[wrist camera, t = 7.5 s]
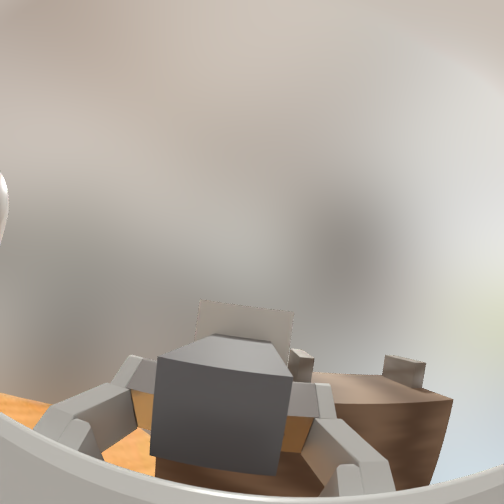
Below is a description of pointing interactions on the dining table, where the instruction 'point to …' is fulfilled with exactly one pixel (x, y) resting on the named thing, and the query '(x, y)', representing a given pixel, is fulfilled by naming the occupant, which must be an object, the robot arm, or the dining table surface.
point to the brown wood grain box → (360, 420)
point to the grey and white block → (225, 391)
